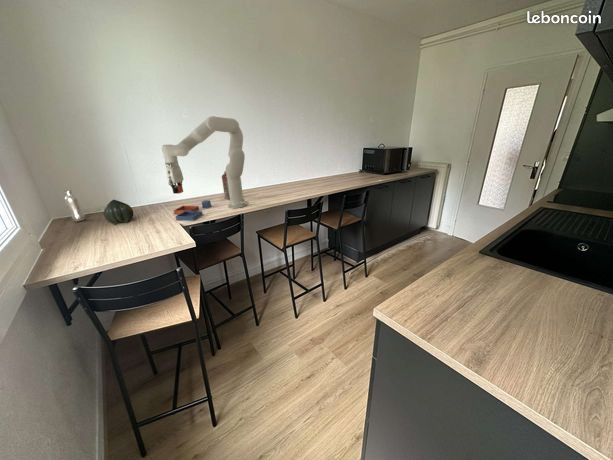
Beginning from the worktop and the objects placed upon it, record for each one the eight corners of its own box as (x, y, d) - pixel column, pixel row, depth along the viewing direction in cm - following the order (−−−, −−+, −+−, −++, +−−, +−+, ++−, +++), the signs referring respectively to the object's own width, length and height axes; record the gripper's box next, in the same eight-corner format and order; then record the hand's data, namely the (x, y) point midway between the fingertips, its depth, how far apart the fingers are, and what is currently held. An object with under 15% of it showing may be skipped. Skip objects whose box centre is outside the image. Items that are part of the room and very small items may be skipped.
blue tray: (202, 214, 171) (202, 211, 170) (193, 220, 160) (193, 217, 159) (186, 214, 172) (185, 210, 171) (176, 220, 162) (175, 216, 161)
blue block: (211, 206, 189) (210, 200, 187) (208, 207, 185) (207, 202, 183) (205, 206, 190) (204, 200, 188) (202, 207, 186) (201, 201, 184)
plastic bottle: (89, 219, 165) (77, 189, 157) (77, 223, 159) (65, 192, 151) (82, 218, 167) (71, 189, 159) (70, 222, 161) (58, 191, 153)
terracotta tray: (199, 209, 182) (198, 206, 181) (190, 214, 172) (189, 210, 171) (183, 208, 184) (182, 205, 183) (174, 213, 174) (173, 210, 173)
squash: (123, 218, 150) (125, 195, 155) (96, 220, 148) (99, 198, 153) (136, 226, 164) (138, 205, 168) (112, 228, 162) (114, 207, 166)
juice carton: (231, 196, 213) (227, 170, 205) (236, 197, 210) (233, 171, 201) (224, 198, 208) (220, 171, 200) (230, 199, 205) (226, 172, 196)
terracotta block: (183, 191, 171) (182, 185, 169) (179, 193, 166) (178, 186, 165) (177, 191, 171) (175, 185, 169) (173, 193, 167) (171, 186, 165)
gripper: (169, 166, 153) (176, 195, 161) (185, 162, 169) (190, 189, 176) (158, 166, 154) (165, 195, 162) (174, 162, 170) (180, 189, 177)
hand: (178, 192), depth 169 cm, fingers closed on terracotta block, 4 cm apart
